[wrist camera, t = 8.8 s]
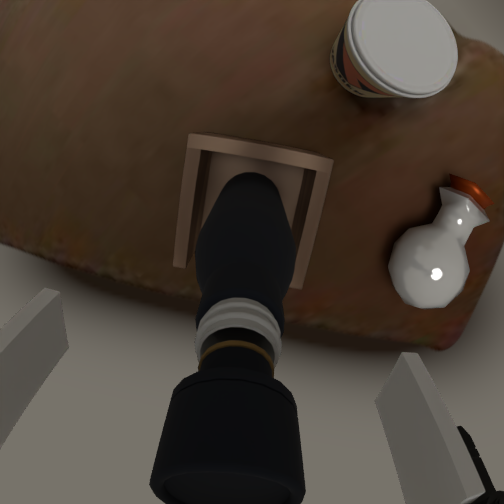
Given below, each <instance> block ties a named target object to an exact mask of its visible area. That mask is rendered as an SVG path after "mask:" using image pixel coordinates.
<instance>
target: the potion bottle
mask: <svg viewBox="0 0 504 504" xmlns="http://www.w3.org/2000/svg"><path fill="white" fill-rule="evenodd" d="M449 175H450V179H451V185H450V187H439V189H440V195H441V201H442V207H441V209H440V211H439V212H438V214H437V216H436V218H435V220H434V221H433V223H432V224H427V225H422V226H417V227H413V228H409V229H408V230H407V231H406V232H405V233H404V234H403V235H402V236H401V237H400V238H399V239H398V240H397V241H396V242H395V243H394V246H393V250H392V254H391V257H390V261H389V265H388V268H389V273H390V277H391V281H392V286H393V287H394V288H395V290H396V291H397V293H398V294H399V295H400V297H401V298H402V300H403V301H404V302H405V303H406V304H409V305H412V306H416V307H419V308H422V309H433V308H442V307H445V306H446V305H448V304H449V303H450V302H451V301H452V300H453V299H454V298H455V297H456V296H458V295H459V294H460V293H461V292H462V291H463V288H464V285H465V282H466V279H467V277H468V274H469V271H470V270H469V266H468V261H467V256H466V252H465V248H464V244H465V242H466V241H467V239H468V237H469V235H470V233H471V231H472V229H473V227H475V226H478V225H480V224H483V223H486V222H488V221H489V219H488V217H487V215H486V213H485V211H484V209H485V208H486V207H487V206H489V205H492V204H494V203H493V202H492V201H491V199H490V198H489V197H488V196H487V195H486V194H485V193H484V192H483V191H482V190H481V188H480V187H479V186H478V185H477V184H476V183H474V182H471V181H469V180H466V179H463V178H460V177H458V176H455V175H452V174H449Z"/></svg>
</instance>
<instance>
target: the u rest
mask: <svg viewBox="0 0 504 504" xmlns="http://www.w3.org/2000/svg"><path fill="white" fill-rule="evenodd" d="M333 162H334V160H333V159H331V158H329V157H327V156H324V155H322V154H320V153H317V152H312V151H308V150H303V149H299V148H294V147H289V146H284V145H279V144H274V143H269V142H264V141H258V140H252V139H247V138H241V137H235V136H228V135H222V134H215V133H208V132H199V133H189V137H188V143H187V150H186V157H185V164H184V171H183V178H182V186H181V194H180V202H179V210H178V219H177V229H176V238H175V249H174V260H173V266H175V267H180V268H185V269H186V267H187V265H188V263H189V261H190V259H191V257H192V255H193V253H194V252H195V248H196V243H197V240H198V236H199V233H200V231H201V229H202V227H203V225H204V223H205V221H206V219H207V217H208V215H209V213H210V211H211V209H212V207H213V206H214V204H215V202H216V200H217V198H218V196H219V194H220V192H221V190H222V189H223V187H224V186H225V184H226V183H227V182H228V181H229V180H230V179H231V178H233V177H234V176H236V175H238V174H241V173H244V172H256V173H259V174H262V175H265V176H266V177H267V178H269V179H270V180H272V181H273V183H274V184H275V186H276V187H277V188H278V191H279V194H280V197H281V200H282V203H283V206H284V209H285V212H286V216H287V219H288V222H289V225H290V228H291V231H292V235H293V238H294V242H295V245H296V260H295V269H294V274H293V278H292V281H291V283H290V286H289V287H291V288H297V289H302V286H303V282H304V279H305V275H306V271H307V268H308V264H309V260H310V256H311V252H312V249H313V245H314V241H315V237H316V233H317V229H318V225H319V221H320V217H321V213H322V209H323V205H324V201H325V196H326V192H327V188H328V184H329V179H330V175H331V171H332V166H333Z"/></svg>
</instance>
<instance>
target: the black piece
mask: <svg viewBox="0 0 504 504" xmlns="http://www.w3.org/2000/svg"><path fill="white" fill-rule="evenodd" d="M195 260H196V275H197V281H198V283H199V286H200V289H201V292H202V294H203V295H202V298H201V301H200V305H199V308H198V312H197V315H196V328H197V335H196V338H195V350H196V353H197V357H198V361H199V366H198V372H196V373H194V374H192V375H190V376H188V377H186V378H184V379H183V380H182V381H181V382H180V383H179V384H178V385H177V386H176V388H175V389H174V390H173V394H172V397H171V401H170V405H169V409H168V412H167V416H166V420H165V423H164V427H163V431H162V435H161V438H160V442H159V446H158V450H157V454H156V458H155V462H154V466H153V470H152V474H151V479H150V484H149V485H150V487H151V489H152V490H153V492H154V494H155V495H156V497H158V498H159V499H160V500H162V501H163V502H164V503H165V504H301V502H302V501H303V498H304V495H305V492H306V490H305V480H304V470H303V461H302V451H301V442H300V432H299V424H298V417H297V406H296V403H295V400H294V398H293V395H292V393H291V392H290V391H289V390H288V389H287V388H286V387H285V386H284V385H283V384H282V383H281V382H280V381H278V380H276V379H274V368H275V366H276V364H277V361H278V359H279V357H280V355H281V346H282V342H281V337H282V335H283V332H284V312H283V305H282V300H283V298H284V296H285V294H286V293H287V290H288V288H289V286H290V283H291V281H292V278H293V274H294V269H295V260H296V245H295V242H294V238H293V235H292V231H291V228H290V225H289V222H288V219H287V216H286V212H285V209H284V206H283V203H282V200H281V197H280V194H279V191H278V188H277V187H276V186H275V184H274V183H273V181H272V180H270V179H269V178H267V177H266V176H265V175H262V174H259V173H256V172H244V173H241V174H238V175H236V176H234V177H233V178H231V179H230V180H229V181H228V182H227V183H226V184H225V186H224V187H223V189H222V190H221V192H220V194H219V196H218V198H217V200H216V202H215V204H214V206H213V207H212V209H211V211H210V213H209V215H208V217H207V219H206V221H205V223H204V225H203V227H202V229H201V231H200V233H199V236H198V240H197V243H196V248H195Z"/></svg>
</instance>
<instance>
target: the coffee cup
mask: <svg viewBox="0 0 504 504" xmlns="http://www.w3.org/2000/svg"><path fill="white" fill-rule="evenodd" d="M457 60H458V51H457V45H456V40H455V37H454V35H453V32H452V30H451V28H450V26H449V24H448V23H447V21H446V20H445V18H444V17H443V16H442V15H441V13H440V12H439V11H438V10H437V9H436V8H435V7H434V6H433V5H431V4H430V3H429V2H427V1H426V0H358V1H357V2H356V3H355V4H354V6H353V7H352V9H351V11H350V14H349V16H348V19H347V20H346V22H345V24H344V26H343V28H342V29H341V31H340V33H339V35H338V37H337V39H336V40H335V42H334V44H333V47H332V49H331V53H330V66H331V69H332V72H333V74H334V76H335V78H336V79H337V81H338V82H339V83H340V84H341V85H342V86H343V87H344V88H345V89H346V90H348V91H349V92H351V93H353V94H355V95H358V96H361V97H368V98H381V97H408V98H424V97H429V96H431V95H434V94H436V93H438V92H440V91H441V90H442V89H444V88H445V87H446V86H447V85H448V83H449V82H450V80H451V79H452V77H453V75H454V72H455V70H456V66H457Z"/></svg>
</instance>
